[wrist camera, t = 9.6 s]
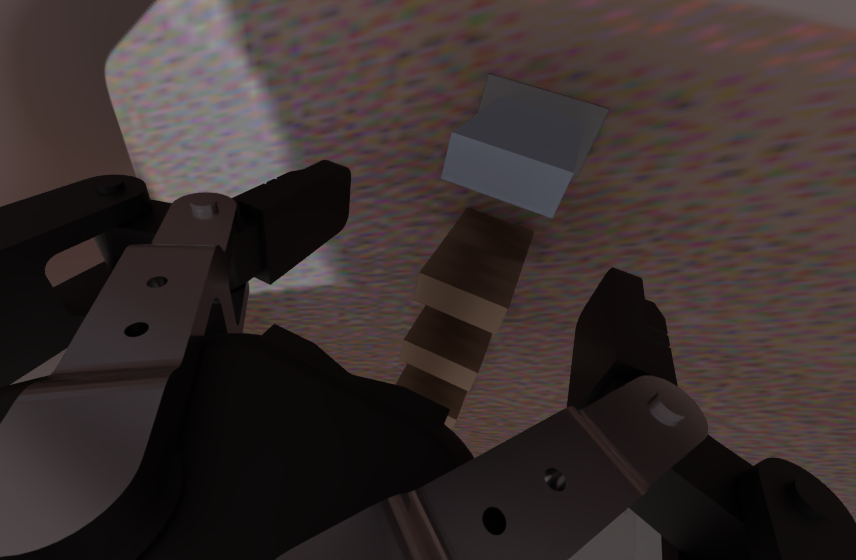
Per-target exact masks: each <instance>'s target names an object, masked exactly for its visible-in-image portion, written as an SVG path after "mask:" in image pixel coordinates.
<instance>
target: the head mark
mask: <svg viewBox="0 0 856 560" xmlns="http://www.w3.org/2000/svg"><path fill="white" fill-rule="evenodd" d="M500 97H502V98H505V99H509V100H512V101H515V102H518V103H521V104H525V105H528V106H531V107H534V108H538V109H541V110H544V111H547V112H551V113H554V114H557V115H560V116H564V117H567V118H570V119H573V120H576V121H580V122H583V123H584V126H583V131H582V136H581V141H580V146H579V151H578V155H577V160H576V165H575V170H574V174H573V176H572V177H575V178H577V176H578V174H579V172H580V170H581V168H582V166H583V164H584V161H585V159H586V157H587V155H588V153H589V151H590V149H591V147H592V145H593V143H594V141H595V138H596V136H597V134H598V132H599V130H600V128H601V126H602V124H603V122H604V120H605V118H606V116H607V113H608V111H609V109H608V108H605V107H602V106H598V105H595V104H591V103H588V102H585V101H581V100H578V99H574V98H571V97H568V96H564V95H561V94H558V93H554V92H551V91H547V90H544V89H541V88H537V87H534V86H530V85H527V84H524V83H520V82H517V81H513V80H510V79H507V78H503V77H500V76H496V75H493V74H490V73H489V74H488V77H487V81H486V84H485V88H484V92H483V96H482V99H481V103H480V107H479V111H478V113H479V112H480V111H482V110H483V109H485V108H486V107H487V106H489V105H490V104H491V103H493V102H494V101H496V100H497V99H498V98H500Z"/></svg>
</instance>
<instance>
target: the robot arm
mask: <svg viewBox="0 0 856 560" xmlns="http://www.w3.org/2000/svg"><path fill="white" fill-rule="evenodd" d="M350 186H351V172H350V170H349V168H347V167H345V166H342V165H339V164H336V163H334V162H331V161H328V160H322V161H320V162H318V163H316V164H314V165H312V166H310V167H307V168H305V169H302V170H297V171H291V172H288V173H286V174H284V175H281V176H279V177H277V179H273V180H270V181H268V182H267V183H266V184H262V185H259V186H257V187H255V188H253V189H251V190H249V191H246V192H244V193H242V194H240V195H238V196H235V197H233V198H230V197H228V196H226V195H222V194H218V193H208V192H204V193H193V194H189V195H185V196H183V197H180V198H178V199H177V200H175V201H174V202H173V203H167V202H162V201H156V200H151V199H150V197H149V193H148V190H147V187H146V184H145V182H144V181H142V180H141V179H139V178H136V177H133V176H126V175H102V176H96V177H92V178H88V179H85V180H82V181H79V182H76V183H73V184H70V185H67V186H63V187H60V188H57V189H54V190H51V191H48V192H45V193H42V194H39V195H36V196H33V197H30V198H27V199H23V200H20V201H17V202H14V203H11V204H8V205H5V206H2V207H0V560H568V559H569V558H571V557H572V556H573V555H574V554H575V553H576V552H578V551H579V550H580V549H581V548H582V547H583V546H585V545H586V544H587V543H588V542H589V541H590V540H592V539H593V538H594V537H595V536H596V535H597V534H599V533H600V532H601V531H602V530H603V529H604V528H606V527H607V526H608V525H609V524H610V523H611V522H613V521H614V520H615V519H616V518H617V517H618V516H619V515H621V514H622V513H623V512H624V511H625V510H626V509H628V508H629V509H631V510H632V511H633V512H634V513H635V514H637V515H638V516H639V517H640V518H641V519H643V520H644V521H645V522H646V523H647V524H648V525H650V526H651V527H652V528H653V529H654V530H656V531H657V532H658V533H659V534H660V535H661V545H662V560H856V523H855V521H854V519H853V517H852V516H851V514H850V513H849V511H848V510H847V508H846V507H845V506H844V504H843V503H842V502H841V501H840V500H839V499H838V497H837V496H836V495H835V494H834V493H833V492H832V491H831V490H830V489H829V488H828V487H827V486H826V485H825V484H823V483H822V482H821V481H820V480H819V479H817V478H816V477H815V476H813V475H812V474H811V473H809V472H808V471H806V470H805V469H803V468H801V467H799V466H798V465H796V464H794V463H791V462H789V461H787V460H783V459H780V458H767V459H764V460H763V461H761V462H759V463H757V464H756V465H754V466H752V465H751V464H750V463H748V462H747V461H745V460H744V459H742V458H741V457H739V456H738V455H736V454H735V453H733V452H732V451H731V450H729V449H728V448H726V447H725V446H723V445H722V444H720V443H719V442H717V441H716V440H715V439H713V438H712V437H711V436H709V435H708V424H707V420H706V418H705V416H704V414H703V412H702V410H701V409H700V407H699V406H698V405H697V404H696V402H695V401H694V400H693V399H692V398H691V397H690V396H689V395H688V394H687V393H685V392H684V391H683V390H682V389H680V388H679V387H678V385H677V380H676V374H675V369H674V364H673V359H672V353H671V348H669V346H670V343H669V337H668V336H667V333H668V332H667V327H666V321H665V318H664V316H663V315H662V313H661V312H660V310H659V309H658V308H657V306H656V305H655V303H653V302H651V301H648V300H645V296H644V289H643V281H642V278H640V277H638V276H635V275H632V274H630V273H627V272H624V271H622V270H619V269H616V268H614V267H612V268H611V269H609V271H608V272H607V273H606V275H605V276H604V278H603V279H602V281H601V282H600V284H599V285H598V287H597V289H596V290H595V292H594V293H593V295H592V296H591V298H590V299H589V301H588V303H587V304H586V306H585V307H584V309H583V311H582V313H581V315H580V317H579V319H578V322H577V325H576V330H575V339H574V348H573V357H572V366H571V375H570V383H569V392H568V401H567V408H565V409H563V410H561V411H559V412H557V413H556V414H554V415H552V416H550V417H548V418H546V419H545V420H543V421H541V422H539V423H537V424H536V425H534V426H532V427H530V428H528V429H526V430H525V431H523V432H521V433H519V434H517V435H515V436H514V437H512V438H510V439H508V440H506V441H505V442H503V443H501V444H499V445H497V446H495V447H494V448H492V449H490V450H488V451H486V452H484V453H483V454H481V455H479V456H477V457H475V458H474V457H473V455H472V453H471V452H470V451H469V449H468V448H467V447H466V445H465V444H464V443H463V442H462V440H461V439H460V438H459V437H458V436H457V435H456V434H455V433H454V432H453V431H452V430H451V429H450V428H448V427H447V426H446V425H445V424H444V423H445V421H446V419H447V416H448V414H449V411H450V409H449V408H447V407H444V406H442V405H440V404H438V403H436V402H434V401H432V400H430V399H428V398H426V397H424V396H422V395H420V394H418V393H416V392H414V391H412V390H409V389H407V388H405V387H403V386H399V385H394V384H390V383H386V382H381V381H377V380H373V379H368V378H364V377H360V376H355V375H352V374H350V373H349V372H347V371H346V370H345V369H344V368H342V367H341V366H340V365H339V364H338V363H337V362H335V361H334V360H333V359H332V358H331V357H330V356H329V355H327V354H326V353H325V352H324V351H323V350H322V349H320V348H319V347H318V346H317V345H316V344H315V343H313V342H311V341H309V340H307V339H305V338H302V337H300V336H298V335H296V334H294V333H292V332H290V331H288V330H286V329H284V328H282V327H280V326H278V325H276V324H274V325H273V326H271V327H270V328H269V329H268V330H267V331H266V332H265V333H264V334H262V335H256V334H247V333H243V328H244V321H245V315H246V308H247V302H248V295H249V283H248V281H249V280H250V279H252V278H253V277H255V278H257V279H259V280H261V281H264V282H266V283H268V284H270V285H271V284H272V283H273V282H275V281H276V280H277V279H279V278H280V277H281V276H283V275H284V274H285V273H287V272H288V271H289V270H290V269H292V268H293V267H294V266H296V265H297V264H298V263H300V262H301V261H302V260H304V259H305V258H306V257H307V256H309V255H310V254H311V253H313V252H314V251H315V250H317V249H318V248H319V247H321V246H322V245H323V244H324V243H326V242H327V241H328V240H330V239H331V238H332V237H334V236H335V235H336V234H338V233H339V232H340V231H341V230H342V229H343V228H344V226H345V224H346V222H347V219H348V215H349V202H350ZM93 237H94V239H95V241H96V243H97V245H98V247H99V250H100V252H101V254H102V256H103V258H104V260H105V261H104V262H102V263H100V264H98V265H96V266H94V267H92V268H90V269H88V270H86V271H84V272H82V273H81V274H78V275H77V276H75V277H73V278H71V279H69V280H67V281H65V282H63V283H61V284H59V285H57V286H55V287H52V285H51V283H50V282H49V280H48V279H47V277H46V275H45V266H46V263H47V262H48V261H49V259H50V258H51V257H53V256H54V255H56V254H58V253H60V252H62V251H64V250H66V249H69V248H70V247H73V246H75V245H78V244H80V243H82V242H84V241H86V240H89V239H91V238H93ZM66 348H67V350H66V351H65V353H64V355H63V357H62V358H61V360H60V362H59V363H58V365H57V367H56V368H55V370H54V371H53V372H52V373H51V374H50V375H48V376H45V377H40V378H36V379H32V380H29V381H25V382H20V383H16V384H12V383H13V382H15V381H16V380H18V379H19V378H21V377H22V376H24V375H26V374H27V373H29V372H30V371H32V370H33V369H35V368H37V367H38V366H40V365H41V364H43V363H44V362H46V361H47V360H49V359H51V358H52V357H54V356H55V355H57V354H58V353H60V352H61V351H63V350H65V349H66ZM10 384H12V385H10Z"/></svg>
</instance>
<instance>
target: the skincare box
mask: <svg viewBox="0 0 856 560" xmlns="http://www.w3.org/2000/svg"><path fill="white" fill-rule="evenodd" d="M568 560H662V545H661V535H660V534H659V533H658V532H657V531H656V530H654V529H653V528H652V527H651V526H650V525H648V524H647V523H646V522H645V521H644V520H643V519H641V518H640V517H639V516H638V515H637V514H635V513H634V512H633V511H632V510H631V509H629V508H628V509H626V510H625V511H624V512H623V513H622V514H621V515H619V516H618V517H617V518H616V519H615V520H614V521H613V522H611V523H610V524H609V525H608V526H607V527H606V528H604V529H603V530H602V531H601V532H600V533H599V534H597V535H596V536H595V537H594V538H593V539H592V540H590V541H589V542H588V543H587V544H586V545H585V546H583V547H582V548H581V549H580V550H579V551H578V552H576V553H575V554H574V555H573V556H572V557H571V558H569V559H568Z"/></svg>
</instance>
